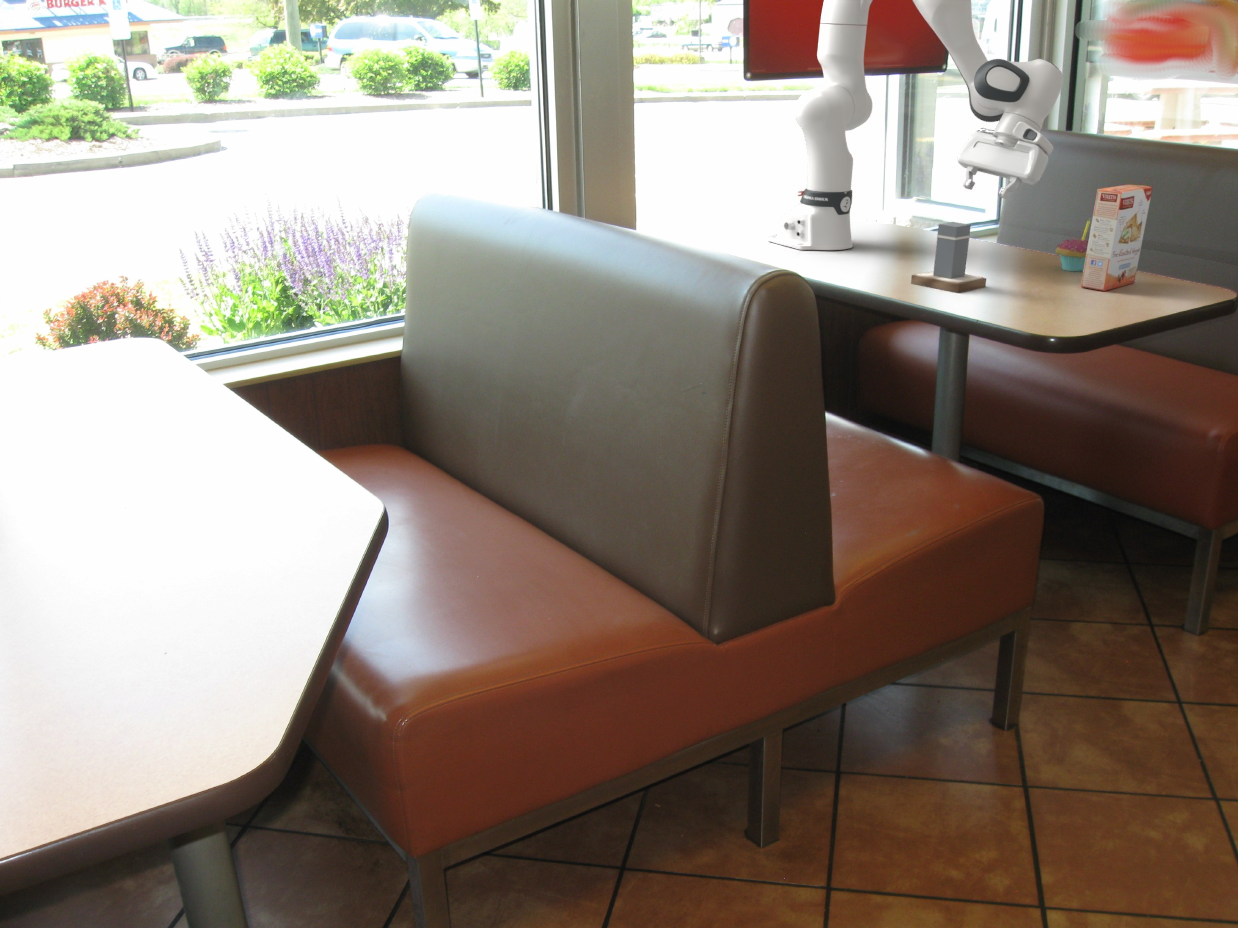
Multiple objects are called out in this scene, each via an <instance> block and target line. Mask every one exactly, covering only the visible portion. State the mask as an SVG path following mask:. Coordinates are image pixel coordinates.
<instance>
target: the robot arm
mask: <svg viewBox="0 0 1238 928" xmlns="http://www.w3.org/2000/svg"><path fill="white" fill-rule="evenodd" d="M873 1H874V0H823V3H822V4H823V5H822V9H821V14H820V15H821V16H820V23H819V33H818V43H817V52H816V56H817V58H816V59H817V60H818V63H819V65H820V66H821V69H822V73H823V79H824V80H823V81H824V84H823V86H821V85H820V86H816V87H813V88H811V89H810V90H806V91H805V92H804V93H802V95H801V96H799V98H798V99H797V101H796V103H795V107H794V116H795V120H796V122H797V125H798V126H799V127H800V129H801V131H802V133H803V135H804V140H805V141H804V142H805V145H806V153H807V176H806V187H805V189H804V190H801V191H800V190H799V191H797V193H799V194H797V197H801V198H800V201H799V204H797V205H796V206H795V207H793V208H792V209H791V210H790V211H788V212H787V213H785V214H784V215H783V216H782V217H781V218H780V220H779V223H778V227H777V234H773V235H771V236H768V239H767V241H768V242H770V243H774V244H777V245H781V246H784V247H789V248H793V249H797V250H802V251H806V250H809V251H812V250H813V251H814V250H815V251H838V250H839V251H840V250H847V249H851V248H853V247H854V244H853V240H852V239H853V238H852V232H851V214H850V213H851V208H852V203H853V190H852V181H853V179H852V178H853V169H854V158H853V154H852V153H851V152H850V150H849V148H848V143H847V136H846V131H852V130H855V129H857V128H858V127H860V126H862V125H863V124H865V123H866V122H867V121H868V120H869V118H870V116H871V114H872V111H873V101H872V97H871V96H870V94H869V92H868V90H867V84H866V77H865V76H866V75H865V65H864V64H865V62H864V59H865V47H866V36H867V29H868V28H867V27H868V21H869V20H868V19H869V11H870V8H871V7H870V6H871V4H872V2H873ZM912 2H913V4H914V5H915V7H916V9H917V10H918V12H919V14H921V16H922V17H923V19H924V20H925V21H926V23H927V24H928V26H929V27H930V28H931V29H932V30H933V32H934V33H935V34H936V37H938V39H939V40H940V41H941V43H942V44H943V46H944V47H945V48H946V50H947V52H948V54H949V55H950V57H951V60H953V63H954V65H955V66H956V68H957V70H958V72H959V73H960V75H961V77H962V79H963V81H964V82H965V85H966V86H967V87H966V88H967V91H968V99H969V107H970V110H971V112H972V114H973V115H974V116H975V117H976V118H977V119H979V121H980V120H981V122H986V123H995V122H998V123H997V125H996V127H995V128H994V129H987V128H984V127H981V128H980V129H977V130H975V131H973V133H971V135H970V138H969V139H968V140H967V141H966V143H965V144H964V145H963V147H962V149H961V150H960V151H959V153H958V155H957V162H958V164H959V165H960V166H961V167H963V169H965V181H964V182H963V185H962V186H963V188H965V189H966V190H967V189H968V190H973V188H974V187H975V185H976V182H975V181H974V180H973V179H974V176H975V175H977V174H978V172H980V173H984V174H988V175H993V176H996V177H1000V178H1004V179H1007V180H1008V179H1009V183H1008V184H1007V185H1005V187H1000V189H999V191H998V193H997V196H998V197H999V198H1001V199H1005V200H1007V199H1008V197H1009V195H1010V194H1011V192H1014V190H1016V189H1018V188H1019V187H1020V185H1021V183H1024V184H1027V185H1031V186H1032V185H1035V184H1036V183H1038V182H1039V181H1040V180H1041V178H1042V177H1043V174H1044V172H1045V170H1046V168H1047V165H1048V163H1049V155H1051V154H1052V152H1053V151H1054V146H1053V144H1052V143H1051V142H1050V141H1049V140H1048V139H1047V138H1046V137H1045V136H1044V135H1043V134H1042V133H1041V130H1042V127H1043V123H1044V122H1045V119H1046V118H1047V117H1048V116H1049V114H1050V113H1051V112H1052V110H1053V109H1054V106H1055V104H1056V102H1057V100H1058V99H1059V96H1060V94H1061V90H1062V88H1063V85H1064V77H1063V72H1062V71H1061V70H1060V69H1059V67H1057V66H1056V65H1055V64H1054V63H1052V62H1050V61H1049V60H1048V59H1047V60H1046V59H1044V58H1036V59H1034V60H1029V61H1011V60H1006V59H1002V58H995V59H994V58H993V59H989V60H988V58H987V57H986V55H985V53H984V51H983V49H982V47H981V46H980V44H979V42H978V40H977V38H976V35H975V32H974V27H973V17H972V16H973V15H972V14H973V11H972V10H973V9H972V0H912Z"/></svg>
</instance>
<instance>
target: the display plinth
mask: <svg viewBox="0 0 1238 928" xmlns="http://www.w3.org/2000/svg"><path fill="white" fill-rule="evenodd" d="M933 273H934V270H930V271H926V272H921V273H915V274H912V275H911V280H910V284H913V285H917V286H922V287H927V288H933V289H936V290H941V291H946V292H950V293H951V292H952V293H955V294H959V293H963V292H968V291H973V290H976V289H981V288H985V287H986V285H987V284H986V283H987V277H986V278H985V277H983V276H978V275H973V274H967V273H965V276H962V277H958V278H953V279H948V278H943V277H938V276H933Z"/></svg>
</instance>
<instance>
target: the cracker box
mask: <svg viewBox="0 0 1238 928" xmlns="http://www.w3.org/2000/svg"><path fill="white" fill-rule="evenodd" d="M1152 193H1153V187H1152V186H1148V185H1142V184H1141V185H1139V184H1124V185H1123V184H1122V185H1117V186H1110V187H1102V188H1097V190H1096V195H1095V196H1096V197H1095V203H1094V207H1093V213H1092V217H1091V223H1090V230H1089V238H1088V240H1087V241H1088V247H1087V253H1086V259H1085V264H1084V270H1083V271H1082V277H1081V282H1080V287H1081V288H1084V289H1090V290H1095V291H1101V292H1102V291H1103V292H1106V291H1110V290H1113V289H1117V288H1119V287H1123V286H1128V285H1131V284H1134V283H1135V282H1136V275H1137V271H1138V266H1139V260H1140V255H1141V251H1142V250H1141V249H1142V244H1143V240H1144V234H1145V228H1146V224H1147V218H1148V214H1149V209H1150V204H1151V203H1150V202H1151V198H1152Z"/></svg>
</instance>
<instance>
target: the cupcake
mask: <svg viewBox="0 0 1238 928" xmlns="http://www.w3.org/2000/svg"><path fill="white" fill-rule="evenodd" d="M1091 220H1092V217H1089V220H1087V221H1086V224H1085V228H1084V231H1083V234H1082V237H1081V238H1071V239H1069V238H1068V239H1065V240H1063V241H1062V242H1060V243H1058V245H1057V246H1056V248H1055V254H1056V255H1057V254H1058V256H1059V258H1060V262H1061V268H1062V269H1061V270H1064V271H1066V272H1083V270H1084V264H1085V259H1086V253H1087V247H1088V241H1089V240H1086V236H1087V234H1088V230H1089V229H1090V225H1091Z"/></svg>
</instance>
